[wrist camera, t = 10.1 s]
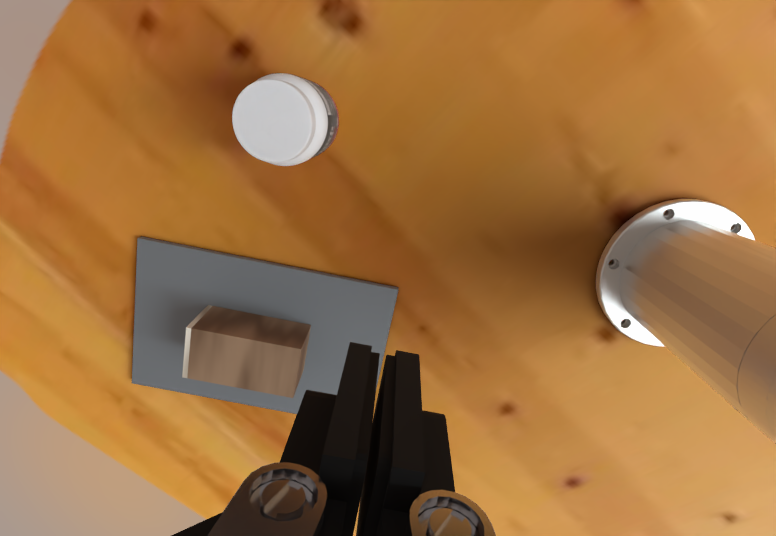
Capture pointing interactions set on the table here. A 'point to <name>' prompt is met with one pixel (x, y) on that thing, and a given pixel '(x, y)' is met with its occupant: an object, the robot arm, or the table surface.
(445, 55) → the table surface
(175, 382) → the mat
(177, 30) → the table surface
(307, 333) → the block
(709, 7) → the table surface
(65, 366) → the table surface
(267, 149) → the pill bottle
